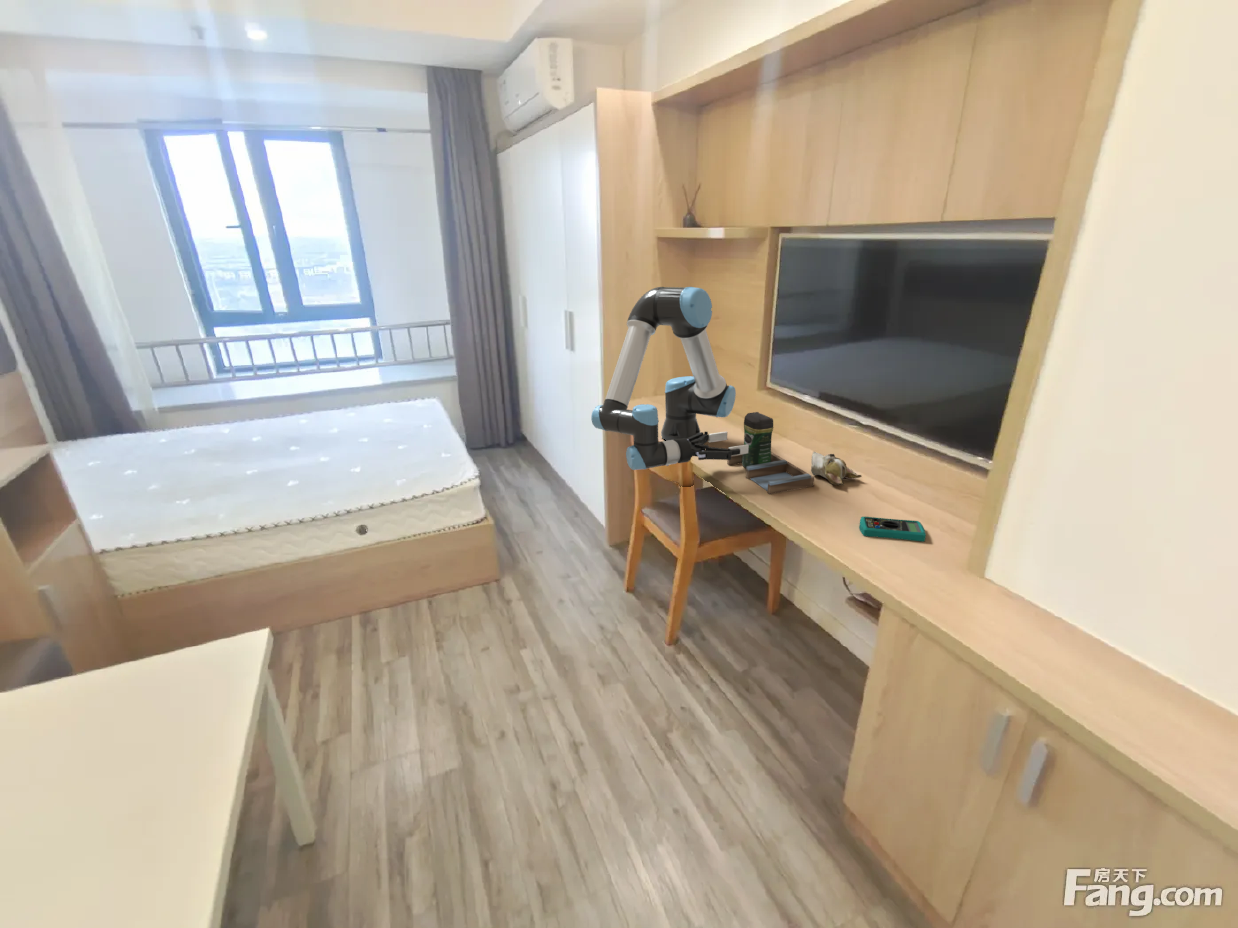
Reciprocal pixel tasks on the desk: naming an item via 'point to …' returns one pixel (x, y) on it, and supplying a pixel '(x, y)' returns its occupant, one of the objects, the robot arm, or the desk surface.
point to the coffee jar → (757, 439)
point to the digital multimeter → (892, 528)
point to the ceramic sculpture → (831, 468)
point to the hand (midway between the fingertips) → (737, 441)
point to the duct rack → (776, 474)
